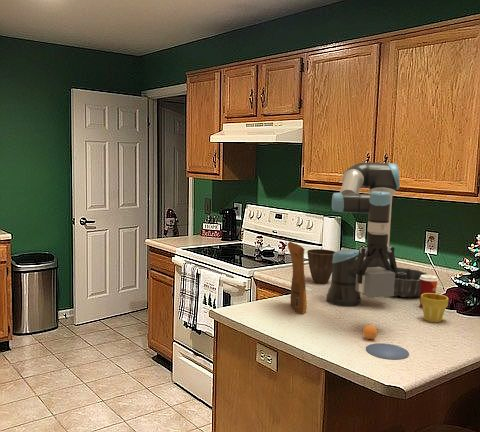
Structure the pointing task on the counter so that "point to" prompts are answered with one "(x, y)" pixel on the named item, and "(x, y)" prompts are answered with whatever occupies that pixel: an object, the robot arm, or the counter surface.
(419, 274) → the bundt pan
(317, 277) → the plant pot
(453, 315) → the counter surface
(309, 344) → the counter surface
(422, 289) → the paper cup
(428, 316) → the plant pot
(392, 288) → the grey matte cube
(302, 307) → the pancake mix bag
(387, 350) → the circle
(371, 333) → the ball
